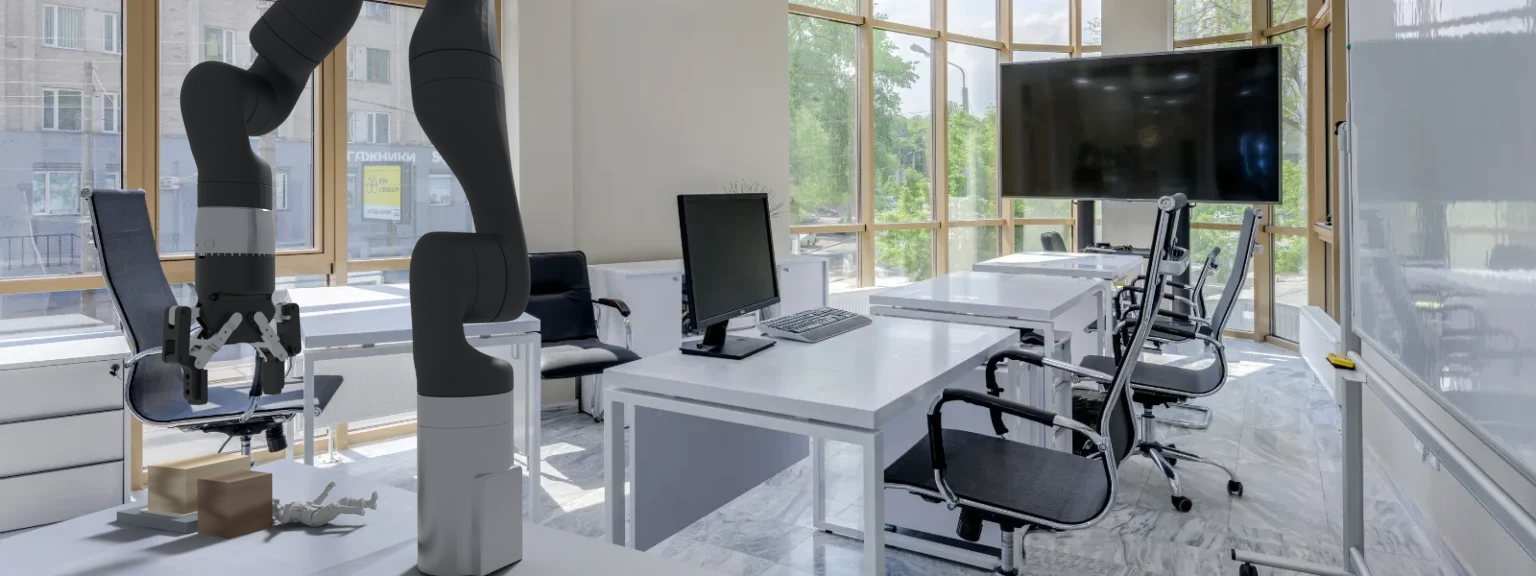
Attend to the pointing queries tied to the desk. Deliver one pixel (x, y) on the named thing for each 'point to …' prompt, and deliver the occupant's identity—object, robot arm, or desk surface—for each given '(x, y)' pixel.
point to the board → (162, 519)
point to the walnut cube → (234, 503)
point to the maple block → (187, 480)
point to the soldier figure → (322, 509)
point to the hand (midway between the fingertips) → (236, 399)
